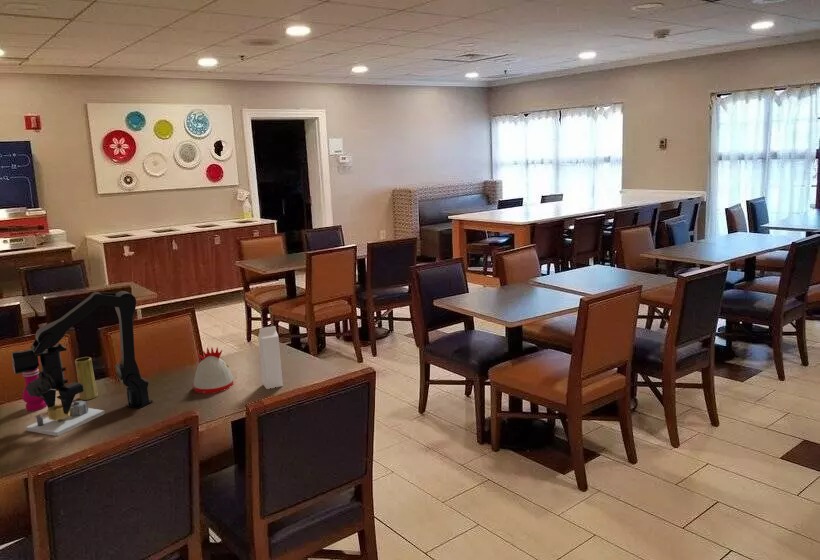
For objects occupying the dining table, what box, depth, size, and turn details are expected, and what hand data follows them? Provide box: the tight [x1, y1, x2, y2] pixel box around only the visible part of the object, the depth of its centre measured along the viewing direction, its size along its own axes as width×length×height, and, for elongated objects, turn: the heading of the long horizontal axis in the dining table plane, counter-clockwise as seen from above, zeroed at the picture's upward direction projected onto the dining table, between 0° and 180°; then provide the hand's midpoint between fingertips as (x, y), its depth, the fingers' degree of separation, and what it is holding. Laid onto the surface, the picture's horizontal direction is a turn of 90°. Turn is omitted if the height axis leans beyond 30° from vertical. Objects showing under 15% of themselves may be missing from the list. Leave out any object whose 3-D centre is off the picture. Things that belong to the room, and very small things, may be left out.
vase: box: [74, 356, 99, 401], centre depth 230 cm, size 6×6×14 cm
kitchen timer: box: [193, 346, 234, 394], centre depth 235 cm, size 14×14×15 cm
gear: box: [47, 403, 71, 420], centre depth 207 cm, size 6×6×3 cm
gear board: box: [25, 400, 106, 437], centre depth 209 cm, size 14×18×5 cm
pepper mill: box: [21, 359, 47, 412], centre depth 221 cm, size 7×7×20 cm
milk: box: [257, 325, 284, 390], centre depth 232 cm, size 6×6×22 cm
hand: (59, 412), depth 207 cm, fingers closed on gear, 6 cm apart
